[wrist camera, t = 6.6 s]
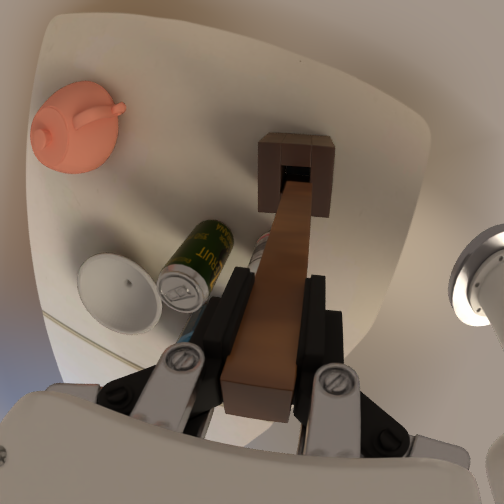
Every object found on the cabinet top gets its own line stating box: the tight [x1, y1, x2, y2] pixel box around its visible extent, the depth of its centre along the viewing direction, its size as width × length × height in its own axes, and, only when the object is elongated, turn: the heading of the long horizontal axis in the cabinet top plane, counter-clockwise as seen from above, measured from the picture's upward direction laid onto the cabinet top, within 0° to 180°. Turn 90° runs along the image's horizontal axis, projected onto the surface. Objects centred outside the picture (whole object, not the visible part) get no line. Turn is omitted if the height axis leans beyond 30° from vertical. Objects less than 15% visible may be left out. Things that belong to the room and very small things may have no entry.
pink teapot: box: [30, 81, 126, 174], centre depth 28 cm, size 12×14×10 cm
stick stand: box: [258, 132, 335, 218], centre depth 29 cm, size 7×7×7 cm
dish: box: [77, 253, 162, 335], centre depth 43 cm, size 18×14×5 cm
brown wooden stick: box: [220, 181, 312, 423], centre depth 15 cm, size 2×2×18 cm
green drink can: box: [156, 220, 234, 313], centre depth 33 cm, size 5×5×12 cm
